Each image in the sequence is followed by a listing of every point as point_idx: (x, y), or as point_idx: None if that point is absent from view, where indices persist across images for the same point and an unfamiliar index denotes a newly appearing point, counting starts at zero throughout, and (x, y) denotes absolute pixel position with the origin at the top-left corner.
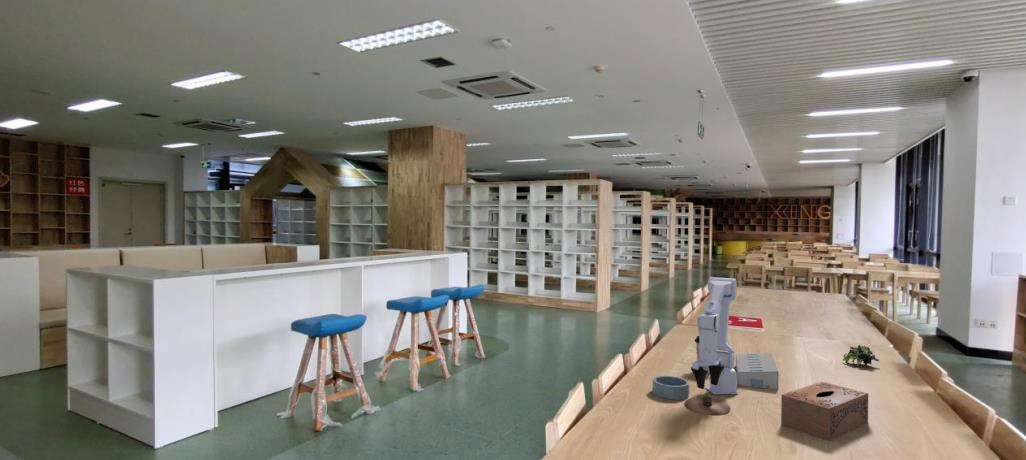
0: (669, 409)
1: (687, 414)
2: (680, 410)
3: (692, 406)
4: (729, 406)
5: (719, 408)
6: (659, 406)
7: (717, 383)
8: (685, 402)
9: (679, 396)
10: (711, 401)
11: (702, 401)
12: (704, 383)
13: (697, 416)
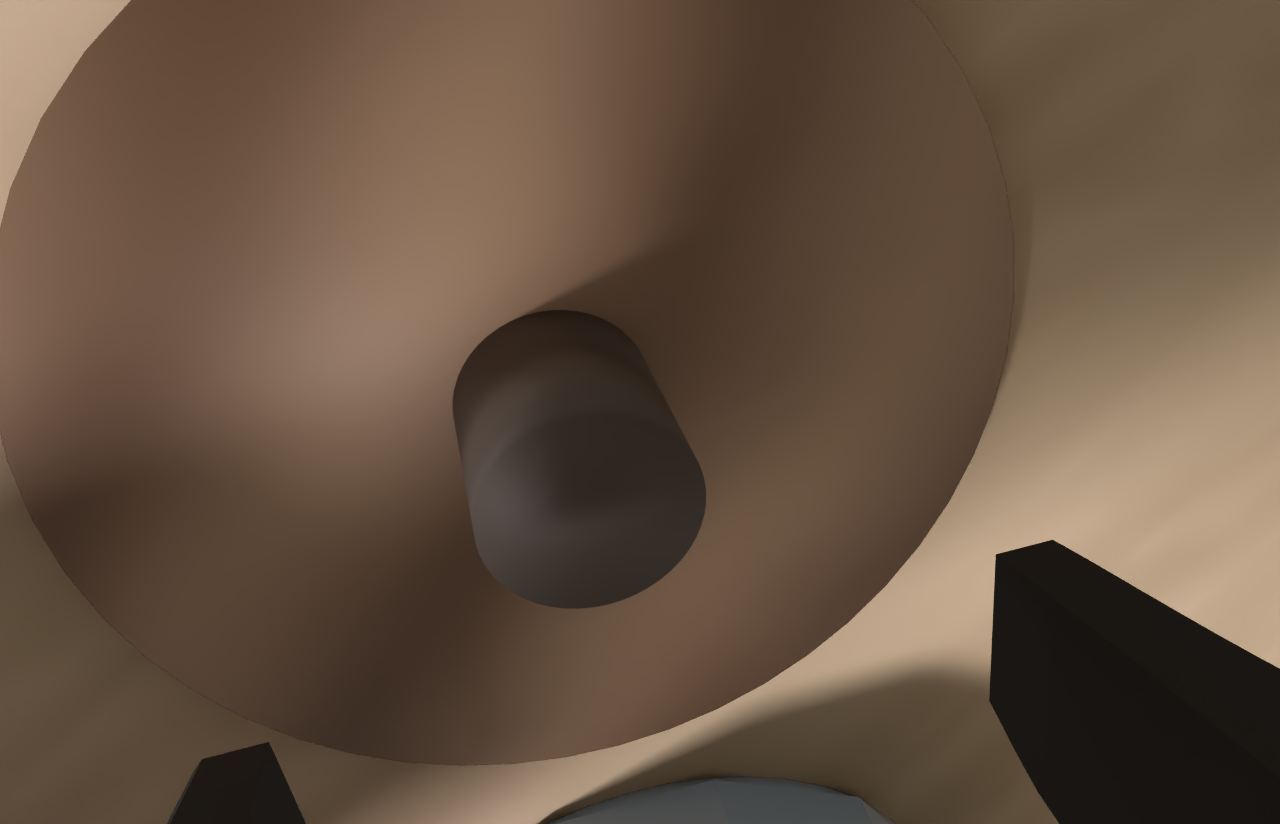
0: (1265, 468)
1: (1244, 174)
2: (1164, 380)
3: (904, 422)
4: (53, 125)
5: (453, 111)
6: (1267, 606)
7: (197, 801)
8: (841, 618)
9: (770, 820)
10: (526, 373)
11: (493, 586)
12: (1152, 655)
13: (1190, 3)
